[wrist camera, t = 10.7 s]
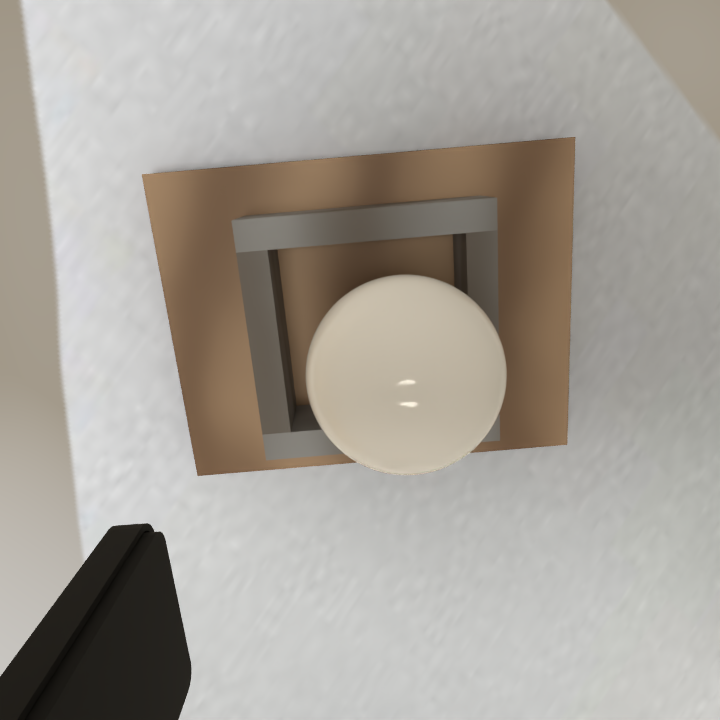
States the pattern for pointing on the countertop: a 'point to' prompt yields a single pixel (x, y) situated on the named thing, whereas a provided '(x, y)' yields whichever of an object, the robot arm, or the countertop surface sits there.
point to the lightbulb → (406, 374)
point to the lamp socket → (358, 281)
